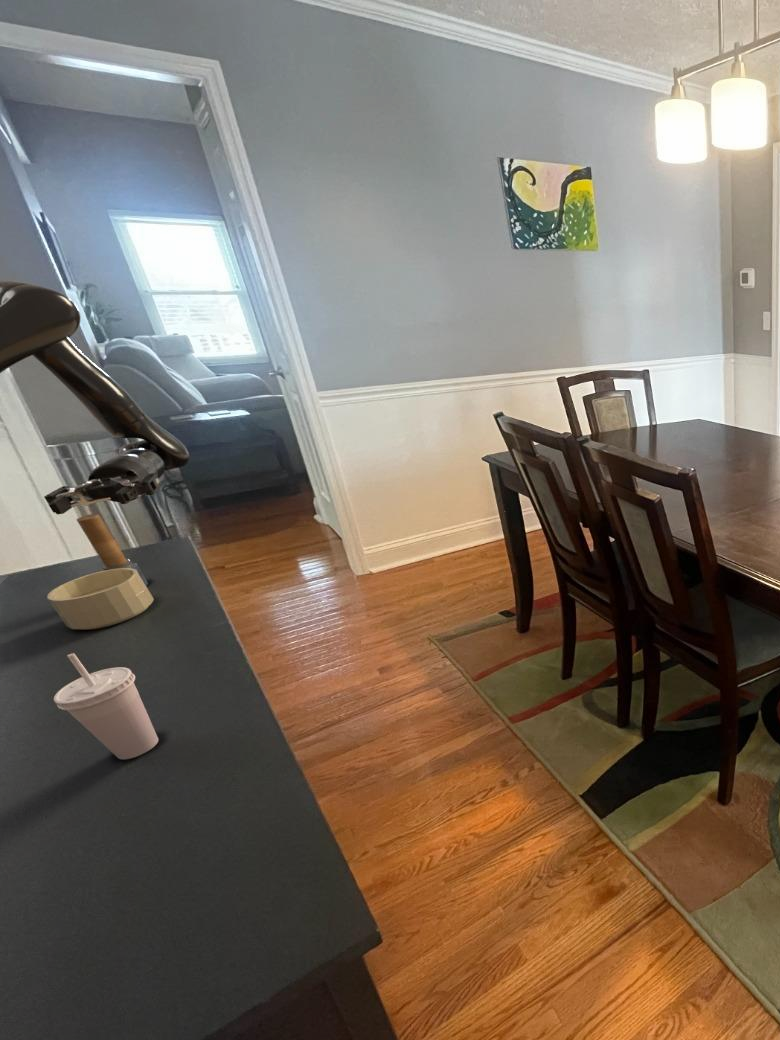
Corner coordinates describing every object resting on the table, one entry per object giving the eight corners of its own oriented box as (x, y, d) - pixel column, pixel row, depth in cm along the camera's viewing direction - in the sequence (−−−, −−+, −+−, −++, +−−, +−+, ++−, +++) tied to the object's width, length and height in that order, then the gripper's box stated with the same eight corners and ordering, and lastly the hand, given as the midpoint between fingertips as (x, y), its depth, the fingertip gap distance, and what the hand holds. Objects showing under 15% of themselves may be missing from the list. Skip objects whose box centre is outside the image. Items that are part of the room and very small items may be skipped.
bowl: (50, 636, 94) (27, 604, 91) (100, 602, 103) (81, 572, 101) (127, 626, 96) (107, 594, 93) (169, 594, 105) (152, 564, 102)
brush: (107, 596, 106) (61, 524, 99) (125, 583, 109) (82, 513, 103) (137, 592, 106) (93, 520, 100) (154, 579, 110) (113, 510, 104)
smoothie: (103, 777, 67) (27, 679, 61) (99, 750, 71) (28, 655, 64) (176, 745, 71) (113, 650, 65) (169, 721, 75) (108, 629, 69)
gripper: (65, 465, 111) (19, 491, 98) (162, 452, 117) (130, 475, 104) (88, 502, 115) (46, 532, 102) (180, 488, 120) (152, 515, 107)
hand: (88, 503), depth 103 cm, fingers open, 8 cm apart
